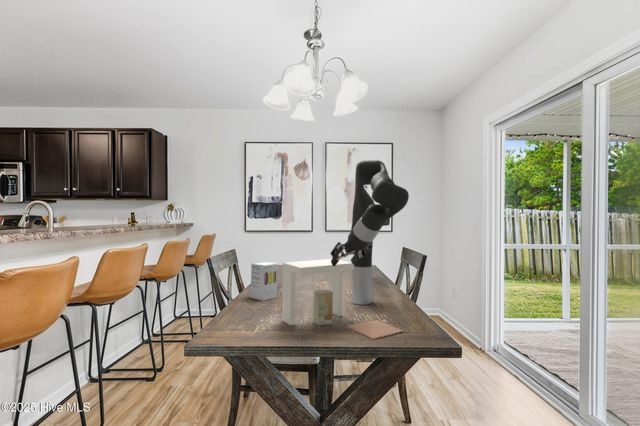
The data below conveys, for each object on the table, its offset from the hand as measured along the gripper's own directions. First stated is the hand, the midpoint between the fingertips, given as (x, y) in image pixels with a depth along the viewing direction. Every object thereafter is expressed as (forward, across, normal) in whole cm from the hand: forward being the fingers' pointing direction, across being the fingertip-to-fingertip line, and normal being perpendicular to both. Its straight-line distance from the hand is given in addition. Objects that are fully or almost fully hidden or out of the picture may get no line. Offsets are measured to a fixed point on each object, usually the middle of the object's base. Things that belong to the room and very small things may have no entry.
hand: (342, 263), depth 122 cm
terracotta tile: (+15, -12, +20) cm, 27 cm away
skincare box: (+26, 0, +9) cm, 28 cm away
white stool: (+28, 0, +6) cm, 29 cm away
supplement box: (+59, +4, -25) cm, 64 cm away
